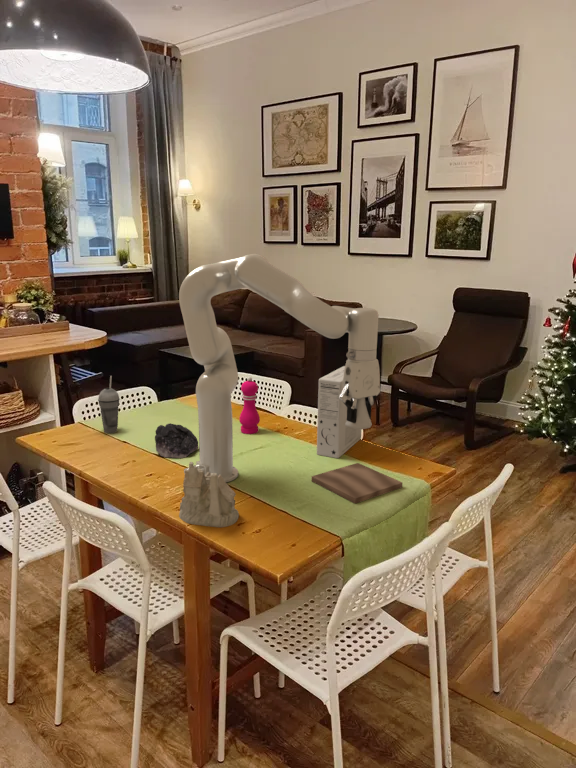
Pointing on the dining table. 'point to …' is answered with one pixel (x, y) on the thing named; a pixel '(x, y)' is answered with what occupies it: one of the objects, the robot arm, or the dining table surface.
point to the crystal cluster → (175, 441)
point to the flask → (360, 416)
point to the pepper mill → (249, 408)
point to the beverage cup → (109, 408)
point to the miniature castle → (207, 499)
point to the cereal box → (333, 418)
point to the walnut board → (356, 482)
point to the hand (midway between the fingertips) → (358, 419)
